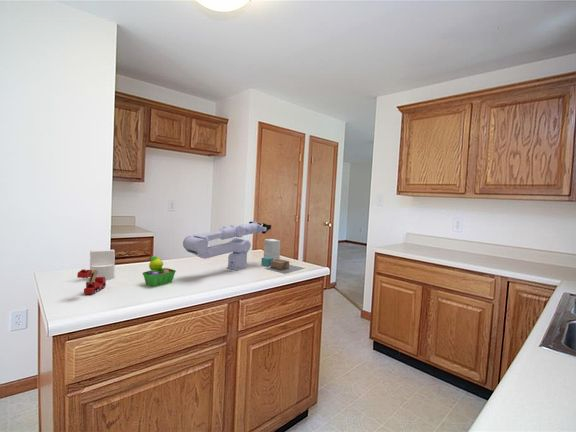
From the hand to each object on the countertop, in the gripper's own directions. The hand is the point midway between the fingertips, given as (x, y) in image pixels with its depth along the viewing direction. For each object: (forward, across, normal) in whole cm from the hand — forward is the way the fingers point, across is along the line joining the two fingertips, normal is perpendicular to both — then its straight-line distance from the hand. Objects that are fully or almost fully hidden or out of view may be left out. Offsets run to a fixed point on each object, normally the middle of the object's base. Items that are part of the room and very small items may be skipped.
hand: (265, 226), depth 174 cm
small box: (+5, 0, +22) cm, 23 cm away
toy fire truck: (-86, +9, +16) cm, 88 cm away
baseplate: (-5, -18, +21) cm, 28 cm away
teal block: (-7, -7, +21) cm, 23 cm away
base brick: (-6, -16, +20) cm, 27 cm away
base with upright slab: (-77, +26, +17) cm, 82 cm away
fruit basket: (-64, +4, +17) cm, 66 cm away
